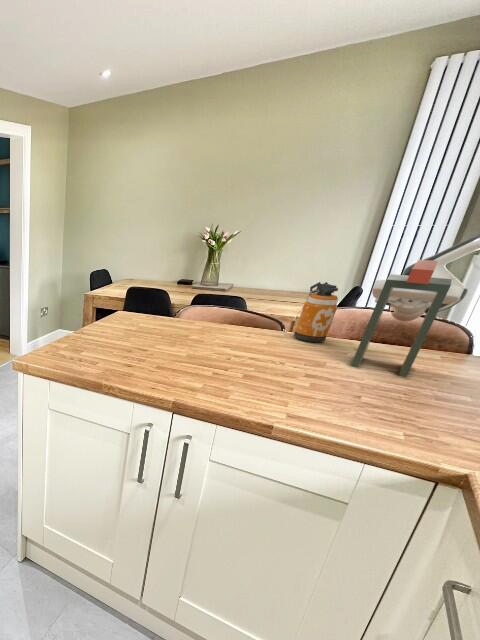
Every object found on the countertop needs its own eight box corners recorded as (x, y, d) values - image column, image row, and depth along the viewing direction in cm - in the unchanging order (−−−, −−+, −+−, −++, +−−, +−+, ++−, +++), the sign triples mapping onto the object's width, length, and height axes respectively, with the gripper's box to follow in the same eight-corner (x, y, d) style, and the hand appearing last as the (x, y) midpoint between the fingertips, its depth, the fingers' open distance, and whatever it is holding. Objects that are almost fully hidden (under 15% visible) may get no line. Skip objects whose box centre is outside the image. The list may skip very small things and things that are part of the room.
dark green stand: (409, 366, 119) (452, 279, 108) (406, 377, 113) (451, 285, 102) (356, 356, 128) (390, 274, 117) (350, 365, 121) (386, 279, 110)
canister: (302, 342, 140) (321, 285, 132) (284, 333, 150) (302, 279, 142) (330, 343, 139) (352, 286, 131) (311, 333, 149) (330, 279, 141)
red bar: (432, 273, 117) (438, 260, 115) (428, 284, 104) (434, 270, 102) (412, 271, 119) (418, 259, 118) (406, 282, 106) (412, 268, 105)
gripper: (453, 311, 129) (464, 296, 119) (368, 301, 143) (371, 287, 133) (462, 293, 129) (473, 276, 119) (376, 285, 143) (379, 269, 133)
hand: (418, 282), depth 126 cm, fingers open, 8 cm apart
